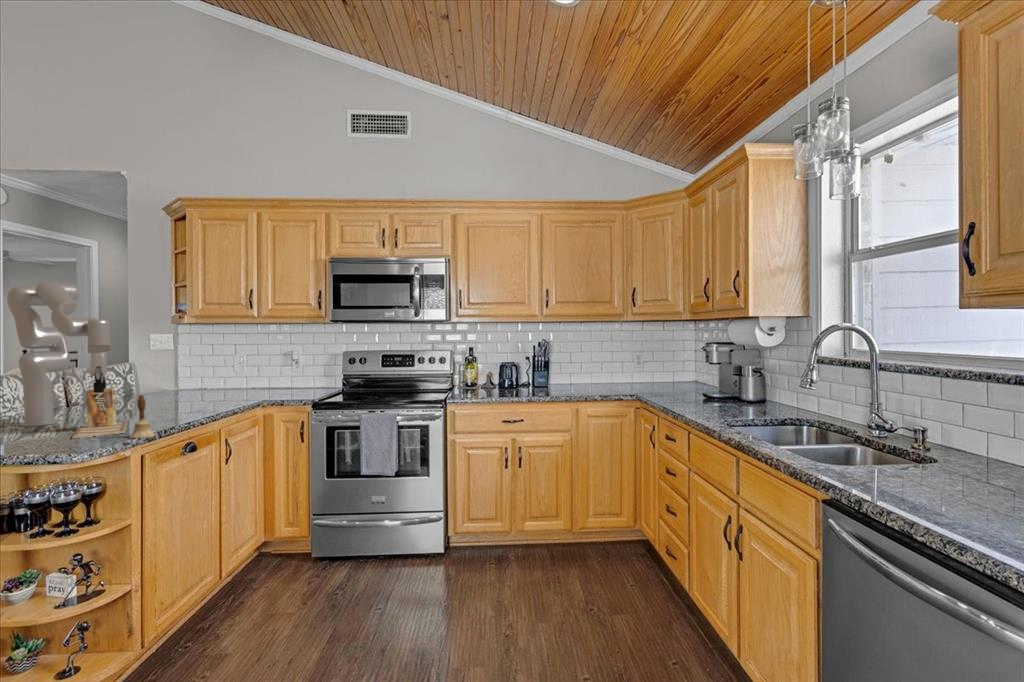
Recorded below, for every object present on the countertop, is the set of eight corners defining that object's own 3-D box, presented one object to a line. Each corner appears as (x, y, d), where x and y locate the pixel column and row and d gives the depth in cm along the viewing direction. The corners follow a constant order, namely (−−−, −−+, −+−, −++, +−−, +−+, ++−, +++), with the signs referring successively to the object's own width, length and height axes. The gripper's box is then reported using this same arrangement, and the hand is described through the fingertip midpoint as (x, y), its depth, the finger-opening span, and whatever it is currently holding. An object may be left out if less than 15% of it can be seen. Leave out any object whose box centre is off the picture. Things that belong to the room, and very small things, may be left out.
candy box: (116, 424, 228) (115, 387, 228) (114, 425, 224) (112, 389, 224) (90, 426, 225) (89, 389, 224) (87, 427, 221) (85, 390, 220)
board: (79, 429, 224) (79, 426, 223) (127, 425, 232) (126, 421, 232) (72, 439, 205) (72, 435, 205) (124, 433, 214) (124, 430, 214)
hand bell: (160, 434, 213) (158, 393, 212) (146, 438, 205) (144, 396, 204) (138, 434, 213) (137, 393, 212) (124, 439, 205) (122, 397, 204)
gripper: (89, 348, 228) (90, 388, 229) (85, 351, 214) (86, 394, 215) (111, 347, 233) (112, 387, 233) (109, 350, 218) (109, 393, 219)
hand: (99, 390), depth 224 cm, fingers open, 9 cm apart
